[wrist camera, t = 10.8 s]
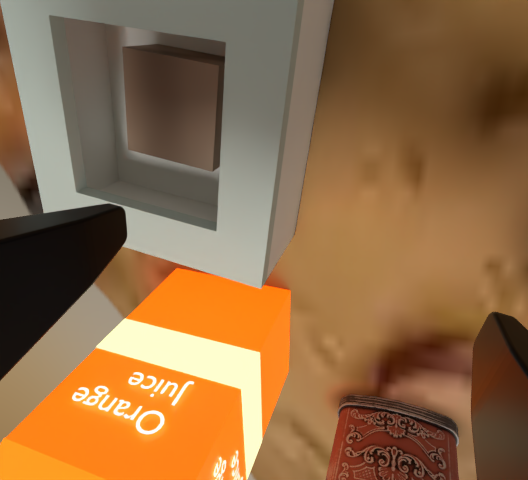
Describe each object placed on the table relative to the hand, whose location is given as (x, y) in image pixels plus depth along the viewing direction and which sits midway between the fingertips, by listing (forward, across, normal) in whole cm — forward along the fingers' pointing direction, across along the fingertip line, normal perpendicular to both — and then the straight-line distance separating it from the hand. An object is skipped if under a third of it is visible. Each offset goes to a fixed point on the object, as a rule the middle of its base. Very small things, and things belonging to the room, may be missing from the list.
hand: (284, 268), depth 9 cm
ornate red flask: (+13, -7, +19) cm, 24 cm away
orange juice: (+13, +6, +15) cm, 21 cm away
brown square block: (+12, +9, 0) cm, 15 cm away
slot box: (+13, +9, 0) cm, 16 cm away
